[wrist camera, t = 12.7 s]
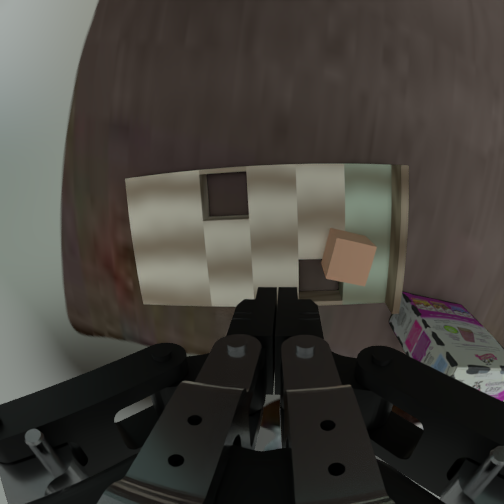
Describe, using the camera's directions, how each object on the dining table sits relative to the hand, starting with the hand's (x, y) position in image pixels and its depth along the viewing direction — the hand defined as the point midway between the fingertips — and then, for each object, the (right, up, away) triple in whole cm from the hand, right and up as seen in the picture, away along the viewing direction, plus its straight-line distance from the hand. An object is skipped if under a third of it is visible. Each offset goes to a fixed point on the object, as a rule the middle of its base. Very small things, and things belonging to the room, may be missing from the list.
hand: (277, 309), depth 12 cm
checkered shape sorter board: (0, +4, +23) cm, 24 cm away
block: (+9, +2, +20) cm, 22 cm away
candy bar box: (+23, -6, +24) cm, 34 cm away
